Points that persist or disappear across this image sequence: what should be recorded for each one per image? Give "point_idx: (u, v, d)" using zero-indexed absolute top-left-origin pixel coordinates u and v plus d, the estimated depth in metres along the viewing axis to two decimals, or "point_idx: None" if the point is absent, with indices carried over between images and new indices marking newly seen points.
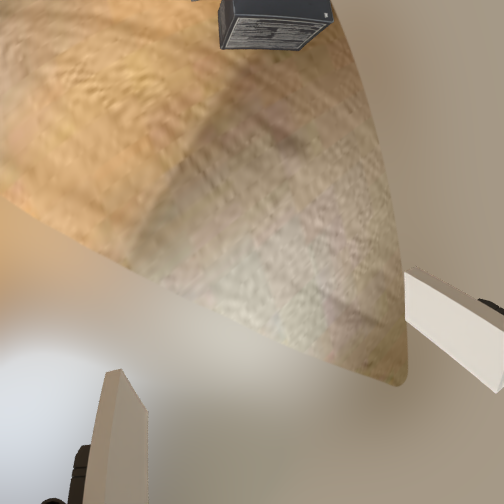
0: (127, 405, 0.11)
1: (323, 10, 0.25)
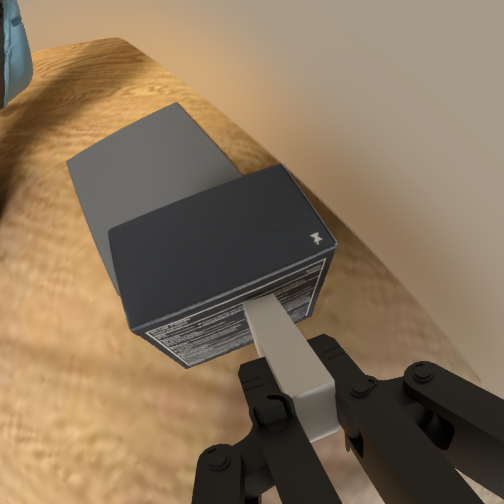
0: None
1: (306, 229, 0.15)
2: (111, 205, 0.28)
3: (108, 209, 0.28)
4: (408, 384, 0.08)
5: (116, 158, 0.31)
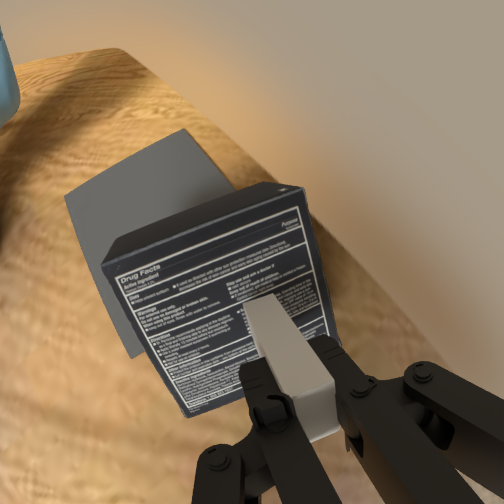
0: None
1: (274, 190, 0.16)
2: None
3: None
4: (408, 384, 0.08)
5: (119, 195, 0.29)
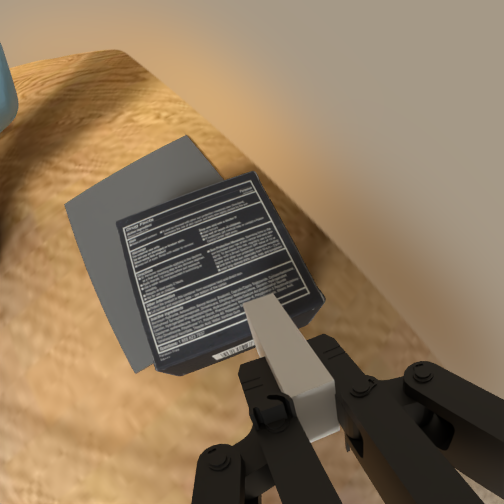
0: None
1: None
2: (119, 265, 0.26)
3: (116, 270, 0.26)
4: (408, 384, 0.08)
5: (121, 204, 0.28)
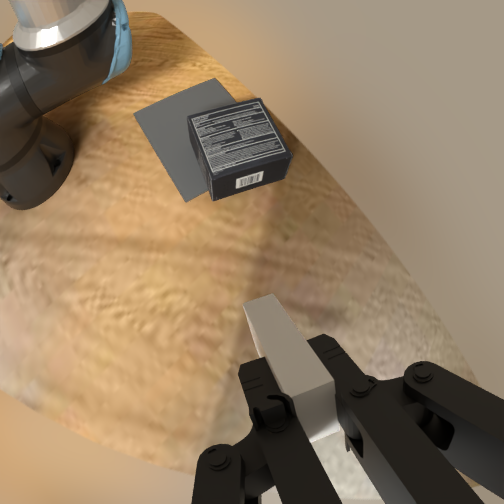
0: None
1: None
2: (176, 146, 0.44)
3: (174, 149, 0.43)
4: (408, 384, 0.08)
5: (175, 114, 0.45)
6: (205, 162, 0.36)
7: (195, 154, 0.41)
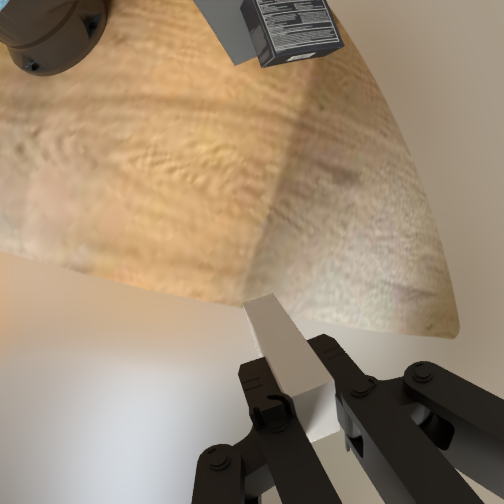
0: None
1: None
2: (224, 10, 0.35)
3: (222, 12, 0.35)
4: (408, 384, 0.08)
5: None
6: (268, 39, 0.32)
7: (247, 23, 0.35)
